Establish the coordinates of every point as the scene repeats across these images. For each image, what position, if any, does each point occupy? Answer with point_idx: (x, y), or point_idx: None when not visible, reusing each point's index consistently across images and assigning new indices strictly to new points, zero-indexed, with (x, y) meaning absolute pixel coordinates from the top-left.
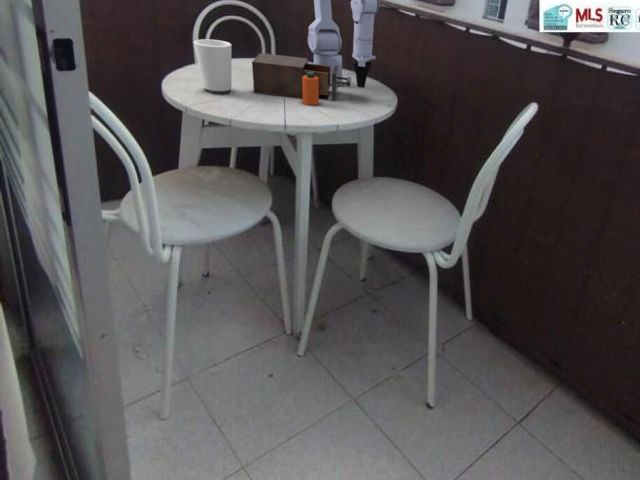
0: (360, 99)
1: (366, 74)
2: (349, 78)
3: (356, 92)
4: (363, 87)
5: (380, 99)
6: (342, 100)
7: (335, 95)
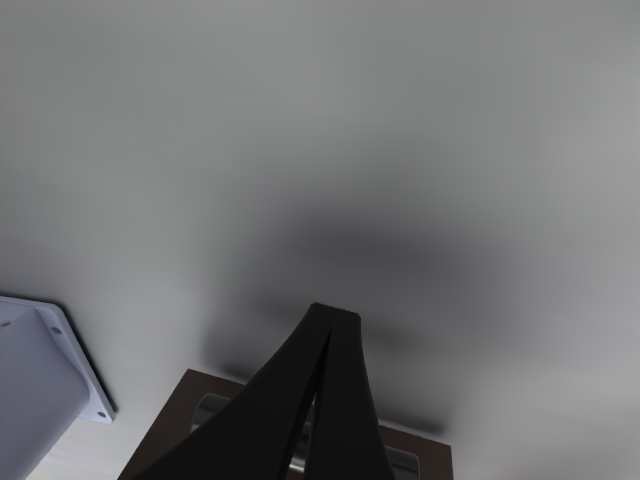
0: (375, 268)
1: (391, 476)
2: None
3: (165, 246)
4: (359, 321)
5: (332, 60)
6: (426, 388)
7: (450, 462)
